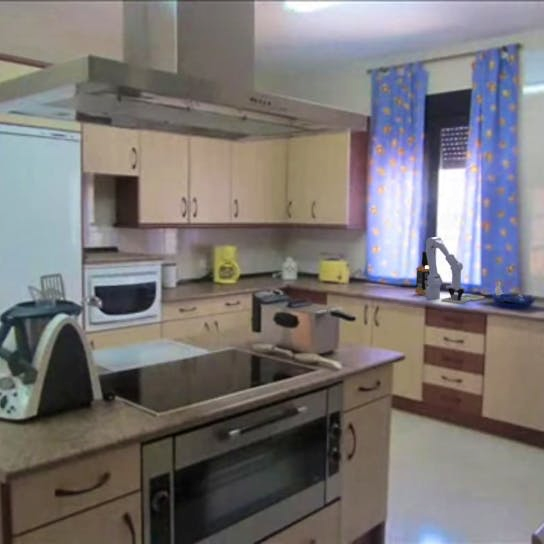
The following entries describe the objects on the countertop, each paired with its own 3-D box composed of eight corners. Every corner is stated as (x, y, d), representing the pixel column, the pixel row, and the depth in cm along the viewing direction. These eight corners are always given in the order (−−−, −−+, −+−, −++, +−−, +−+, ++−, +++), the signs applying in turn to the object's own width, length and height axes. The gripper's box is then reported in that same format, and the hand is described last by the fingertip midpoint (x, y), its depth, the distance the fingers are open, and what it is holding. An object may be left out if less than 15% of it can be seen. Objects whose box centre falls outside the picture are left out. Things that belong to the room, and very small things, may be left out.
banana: (521, 304, 402) (522, 282, 400) (493, 301, 414) (494, 280, 412) (524, 303, 405) (525, 281, 404) (496, 300, 417) (496, 279, 416)
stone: (451, 301, 413) (451, 294, 412) (454, 300, 416) (454, 293, 416) (457, 301, 410) (457, 295, 409) (460, 300, 413) (460, 294, 412)
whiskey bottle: (433, 294, 448) (434, 251, 445) (422, 295, 445) (423, 252, 441) (425, 292, 458) (426, 250, 454) (414, 293, 454) (415, 251, 451)
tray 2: (456, 300, 421) (456, 296, 421) (465, 298, 431) (465, 294, 430) (474, 302, 411) (474, 299, 411) (484, 300, 421) (484, 296, 421)
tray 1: (441, 302, 413) (441, 299, 413) (451, 300, 423) (451, 296, 423) (460, 304, 403) (460, 301, 403) (470, 302, 413) (470, 298, 413)
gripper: (443, 279, 414) (443, 299, 415) (463, 281, 403) (462, 301, 405) (449, 278, 418) (448, 298, 420) (468, 280, 408) (468, 300, 410)
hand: (455, 299), depth 413 cm, fingers closed on stone, 4 cm apart
